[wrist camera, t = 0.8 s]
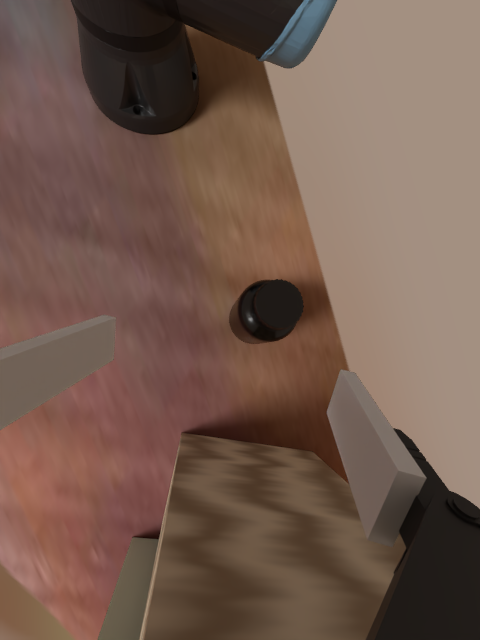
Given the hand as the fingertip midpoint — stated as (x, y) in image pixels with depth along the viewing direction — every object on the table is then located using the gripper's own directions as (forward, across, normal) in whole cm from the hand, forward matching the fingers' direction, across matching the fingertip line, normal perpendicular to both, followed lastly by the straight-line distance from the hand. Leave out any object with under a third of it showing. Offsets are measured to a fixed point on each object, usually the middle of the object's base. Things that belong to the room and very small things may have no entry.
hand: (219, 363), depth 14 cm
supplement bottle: (+21, 0, -2) cm, 21 cm away
